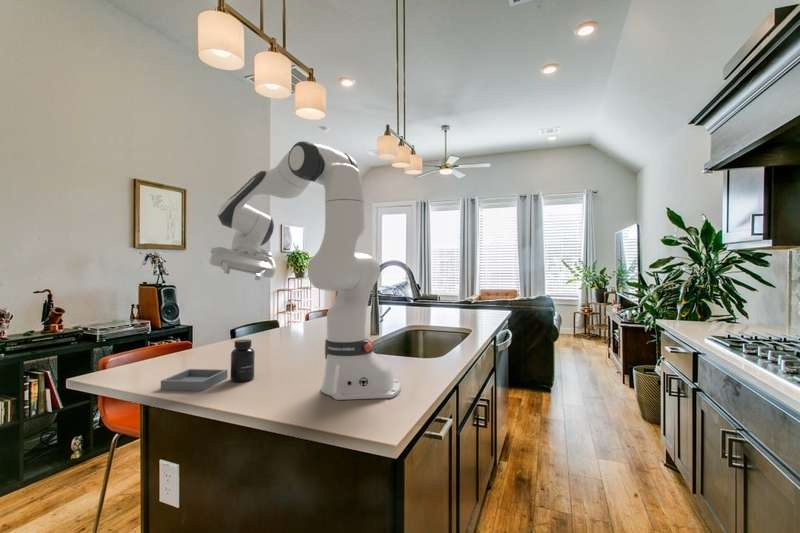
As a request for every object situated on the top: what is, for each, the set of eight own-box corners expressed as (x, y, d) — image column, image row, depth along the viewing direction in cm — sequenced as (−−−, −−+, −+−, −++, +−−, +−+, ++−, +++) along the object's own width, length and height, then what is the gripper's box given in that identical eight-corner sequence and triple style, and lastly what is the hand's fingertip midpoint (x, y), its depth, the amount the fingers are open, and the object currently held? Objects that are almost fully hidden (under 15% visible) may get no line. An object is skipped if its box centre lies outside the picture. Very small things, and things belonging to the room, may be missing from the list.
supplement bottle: (246, 383, 113) (245, 343, 113) (225, 382, 114) (225, 342, 114) (259, 376, 120) (258, 338, 120) (239, 375, 121) (239, 338, 121)
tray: (227, 377, 119) (227, 369, 119) (202, 390, 106) (202, 381, 106) (189, 376, 120) (189, 368, 120) (160, 389, 107) (160, 380, 107)
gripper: (214, 238, 126) (209, 258, 114) (276, 254, 135) (277, 274, 124) (209, 254, 128) (204, 275, 117) (271, 268, 137) (271, 289, 126)
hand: (242, 275), depth 120 cm, fingers open, 8 cm apart
